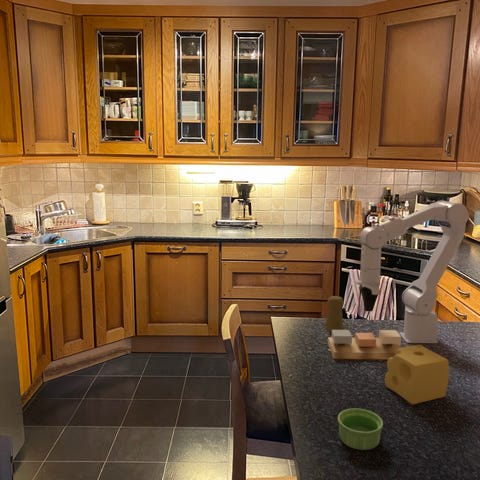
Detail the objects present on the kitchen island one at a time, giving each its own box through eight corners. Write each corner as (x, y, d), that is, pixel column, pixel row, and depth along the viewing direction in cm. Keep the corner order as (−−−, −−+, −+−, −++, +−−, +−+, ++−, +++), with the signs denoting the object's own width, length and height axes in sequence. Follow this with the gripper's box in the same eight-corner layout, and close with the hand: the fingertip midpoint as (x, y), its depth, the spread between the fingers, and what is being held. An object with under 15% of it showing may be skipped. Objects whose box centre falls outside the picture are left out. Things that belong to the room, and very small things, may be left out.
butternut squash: (330, 324, 164) (331, 293, 162) (347, 328, 161) (348, 296, 158) (321, 329, 160) (322, 297, 158) (338, 333, 156) (339, 300, 154)
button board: (393, 344, 147) (394, 333, 147) (404, 359, 137) (405, 348, 136) (328, 343, 148) (328, 333, 147) (333, 358, 137) (334, 347, 137)
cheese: (384, 386, 121) (386, 348, 120) (418, 379, 125) (421, 342, 123) (412, 406, 112) (415, 366, 110) (448, 398, 116) (452, 359, 114)
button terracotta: (371, 339, 144) (372, 333, 144) (376, 346, 139) (376, 339, 139) (355, 339, 144) (355, 332, 144) (358, 346, 139) (358, 339, 139)
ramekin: (330, 442, 98) (330, 423, 97) (346, 422, 106) (347, 403, 105) (373, 458, 93) (374, 437, 92) (387, 435, 101) (388, 416, 100)
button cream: (395, 337, 144) (396, 330, 143) (400, 343, 139) (401, 336, 138) (378, 337, 144) (379, 330, 144) (383, 343, 139) (383, 336, 139)
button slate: (348, 336, 144) (348, 329, 144) (351, 343, 139) (352, 336, 139) (331, 336, 144) (331, 329, 144) (334, 343, 139) (334, 336, 139)
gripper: (351, 261, 152) (350, 303, 155) (362, 273, 138) (361, 318, 140) (374, 261, 152) (372, 303, 155) (387, 273, 138) (385, 318, 140)
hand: (368, 310), depth 147 cm, fingers closed
